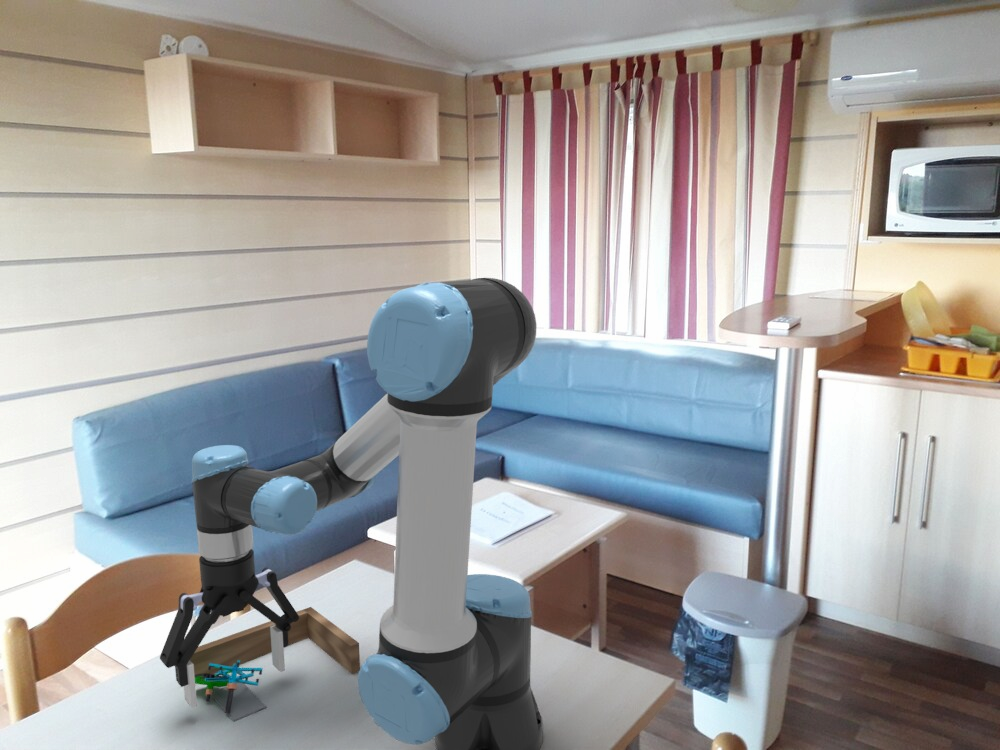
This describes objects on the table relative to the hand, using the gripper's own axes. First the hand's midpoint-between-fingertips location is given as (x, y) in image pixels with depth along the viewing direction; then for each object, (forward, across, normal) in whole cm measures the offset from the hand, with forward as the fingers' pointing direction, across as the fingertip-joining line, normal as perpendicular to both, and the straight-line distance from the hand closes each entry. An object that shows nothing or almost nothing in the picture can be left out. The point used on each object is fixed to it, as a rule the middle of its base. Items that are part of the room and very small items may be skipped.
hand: (236, 684), depth 117 cm
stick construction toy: (+3, -1, -1) cm, 4 cm away
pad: (+3, 0, 0) cm, 3 cm away
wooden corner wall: (+3, -17, -2) cm, 18 cm away
